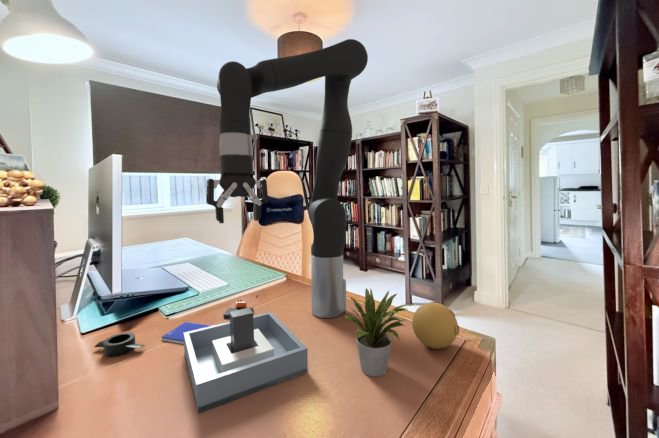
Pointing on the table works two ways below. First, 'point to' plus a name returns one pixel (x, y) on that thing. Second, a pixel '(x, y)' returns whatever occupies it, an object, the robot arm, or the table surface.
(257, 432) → the table surface
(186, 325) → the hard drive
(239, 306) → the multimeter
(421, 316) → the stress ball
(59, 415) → the table surface
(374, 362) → the house plant
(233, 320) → the plug
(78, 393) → the table surface
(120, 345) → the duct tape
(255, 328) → the walled box
